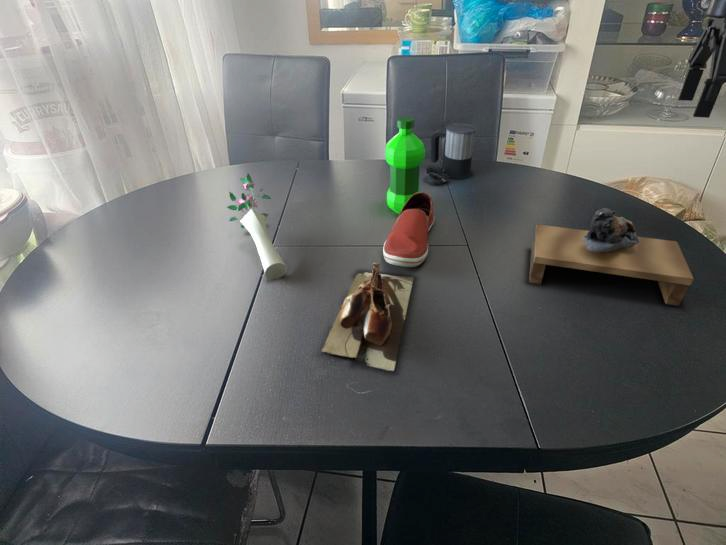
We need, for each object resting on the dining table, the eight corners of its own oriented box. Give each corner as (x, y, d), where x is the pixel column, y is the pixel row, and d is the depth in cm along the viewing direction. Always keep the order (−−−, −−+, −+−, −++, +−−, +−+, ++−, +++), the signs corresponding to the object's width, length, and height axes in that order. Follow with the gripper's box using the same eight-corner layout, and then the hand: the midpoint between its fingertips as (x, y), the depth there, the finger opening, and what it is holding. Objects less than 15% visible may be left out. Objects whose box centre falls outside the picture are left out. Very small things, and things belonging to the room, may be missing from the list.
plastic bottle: (417, 221, 119) (421, 126, 104) (380, 215, 122) (378, 123, 108) (426, 205, 126) (431, 115, 112) (391, 200, 130) (391, 112, 115)
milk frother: (472, 168, 147) (477, 123, 138) (470, 188, 134) (475, 140, 126) (428, 166, 150) (431, 121, 141) (422, 185, 137) (425, 138, 129)
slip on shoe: (372, 273, 100) (371, 239, 94) (402, 214, 122) (403, 184, 117) (419, 281, 97) (421, 246, 92) (441, 219, 119) (444, 188, 114)
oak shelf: (665, 268, 98) (677, 241, 94) (679, 307, 87) (693, 278, 83) (530, 250, 105) (536, 224, 101) (528, 284, 95) (535, 256, 91)
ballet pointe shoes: (314, 335, 75) (351, 247, 97) (318, 363, 78) (353, 272, 101) (394, 343, 72) (414, 251, 94) (395, 371, 76) (414, 276, 98)
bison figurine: (614, 234, 97) (628, 191, 91) (643, 249, 91) (660, 205, 86) (573, 248, 93) (585, 204, 87) (601, 265, 87) (616, 219, 82)
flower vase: (265, 304, 104) (230, 214, 125) (312, 280, 105) (269, 194, 126) (243, 275, 94) (209, 183, 115) (295, 249, 95) (252, 162, 117)
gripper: (787, -2, 74) (730, 126, 87) (737, -11, 94) (697, 94, 106) (734, -1, 77) (686, 123, 89) (696, -11, 96) (661, 93, 108)
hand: (692, 108), depth 97 cm, fingers open, 13 cm apart
